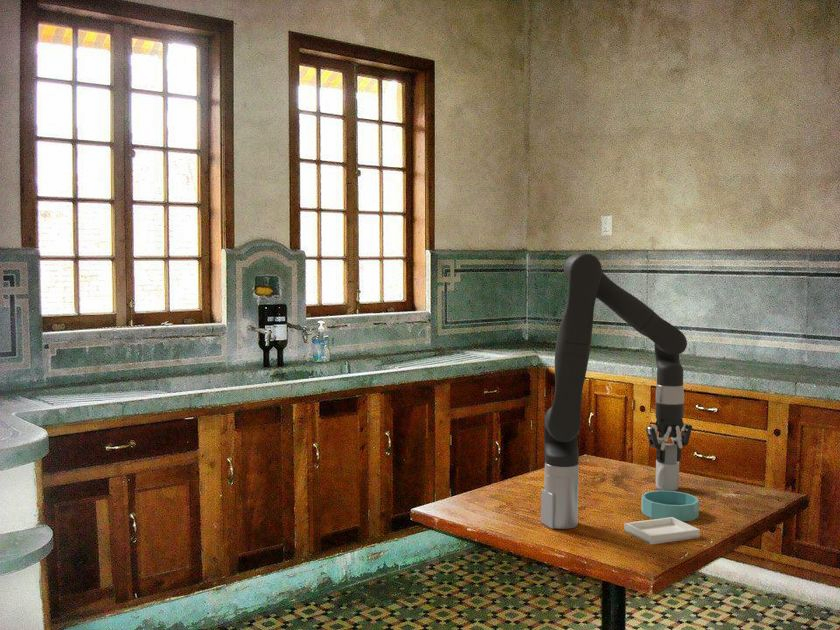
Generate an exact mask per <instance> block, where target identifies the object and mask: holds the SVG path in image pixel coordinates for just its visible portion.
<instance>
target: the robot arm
mask: <svg viewBox="0 0 840 630" xmlns="http://www.w3.org/2000/svg"><path fill="white" fill-rule="evenodd" d="M563 274H564V277H565V279H566V280H567V281H568V295H567V303H566V307H565V311H564V314H563V316H562V319H561V322H560V324H559V328H558V331H557V337H556V343H555V348H554V349H555V352H554V381H555V382H554V383H555V384H554V385H555V386H554V393H553V394H554V395H553V400H552V404H551V407H549V409H547V411H546V412H545V415H544V423H543V425H544V426H543V431H544V432H543V439H544V441H543V448H544V449H543V451H544V488H542V489H541V490H540V492H541V496H540V497H541V499H540V502H541V503H540V523H541V524H543V525H544V526H546V527H548V528H549V529H551V530H552V529H553V530H554V529H557V530H558V529H559V530H569V529H574V528H576V527H577V526H578V522H579V521H578V517H579V516H578V513H579V509H578V508H579V507H578V506H579V469H580V468H579V462H580V461H579V460H580V456H579V447H578V445H579V444H578V434H579V433H580V430H581V422H582V396H583V389H584V385H585V379H586V376H587V370H588V364H589V359H590V353H591V352H590V351H591V348H592V347H591V346H592V345H591V344H592V337H593V335H592V334H593V326H594V313H595V304H596V299H597V300H599V301H600V302H602V303H603V304H604V305H605V306H607V307H608V309H610V310H611V311H612V312H614V314H616V315H617V316H618V317H620V318H621V319H622V321H624V322H625V323H627V324H628V325H629V326H630V327H631V328H632V329H634V330H635V331H636V332H637V333H639V334H640V335H642V336H644V337H647V338H648V339H649V340H651V341H652V342H653V344H654V345H653V348H654V349H653V350H654V356H655V362H656V368H657V370H656V387H655V413H654V414H655V418H656V420H655V423H654V425H652V426H646V427H645V430H646V431H645V432H646V435H647V438H648V443H649V446H650V447H651V448H654V449H655V450H656V453H655V454H656V460H657V461H658V462H659V463H664V462H665V450H664V448H665V444H666V443H668V441H669V439H670V440H671V441H672V444H676V445H677V462H679V463H680V462H681V460H682V448H683V447H684V446H685V447H687V446H688V445H689V441H690V437H691V433H692V429H693V425H692V424H690V423H684V420H683V419H684V416H685V414H684V413H685V391H684V390H685V389H684V368H683V365H682V364H681V362H680V355H682V354H683V353H684V352H685V351H686V349H687V348H688V347H687V346H688V340H687V337H686V335H685V334H684V332H682V331H681V330H680V329H678V327H676V326H674V325H673V324H671V323H670V322H668V321H667V320H665V319H664V318H663V317H661V316H660V315H659V314H657V313H656V312H655V311H654V310H653V309H652V308H650V307H649V306H648V305H647V304H645V303H644V302H643V301H642V300H640V299H638V298H637V297H636V296H635V295H633V294H631V293H630V292H628V291H627V290H626V289H624V288H623V287H620V286H619V285H618V284H616V283H615V282H614V281H613V280H611V279H610V278H609V277H608V276H607V275H606V274H605V273H604V272H603V267H602V264H601V261H600V260H599V258H598V257H597V256H595V255H593V254H592V253H591V254H590V253H583V252H582V253H581V252H579V253H575V254H572V255H570V257H568V258H567V259H566V260H565V263H564V265H563Z"/></svg>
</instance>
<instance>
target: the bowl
mask: <svg viewBox="0 0 840 630" xmlns="http://www.w3.org/2000/svg"><path fill="white" fill-rule="evenodd" d="M640 503H641V509H640V510H641V513H642V515H645V516H646V517H648V518H650V519H652V520H653V519H661V518H669V517H673V518H675V519H678V520H680V521H682V522H690V521H694V520H696V519H698V518H700V517H699V516H700V501H699V499H698V497H697V496H696V495H695V496H694V495H692V494H689V493H687V492H682V491H681V492H680V491H678V490H676V491H664V490H659V489H657V490H653V491H647V492H644V493H643V494H641V502H640Z"/></svg>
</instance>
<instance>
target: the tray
mask: <svg viewBox="0 0 840 630" xmlns="http://www.w3.org/2000/svg"><path fill="white" fill-rule="evenodd" d="M623 527H624V531H623V532H625V533H627V534H629V535H630V536H633V537H635V538H637V539H639V540H641V541H643V542H645V543H647V544H648V545H656V544H665V543H673V542H679V541H685V540H691V539H692V540H693V539H699V538H700V535H701V529H699V528H697V527H695V526H693V525H691V524H689V523H687V522H685V521H683V522H682V521H680V520H678V519H675V518H673V517H669V518H661V519H653V518H652V519H647V520H638V521H631V522H624V526H623Z"/></svg>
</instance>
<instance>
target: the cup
mask: <svg viewBox="0 0 840 630" xmlns="http://www.w3.org/2000/svg"><path fill="white" fill-rule="evenodd" d="M679 487H680V461H679V462H677V464H675V465H665V464H662V463H659V462H658V461H657V459H656V460H655V488H656V489H657V490H663V491H678V490H679Z"/></svg>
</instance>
